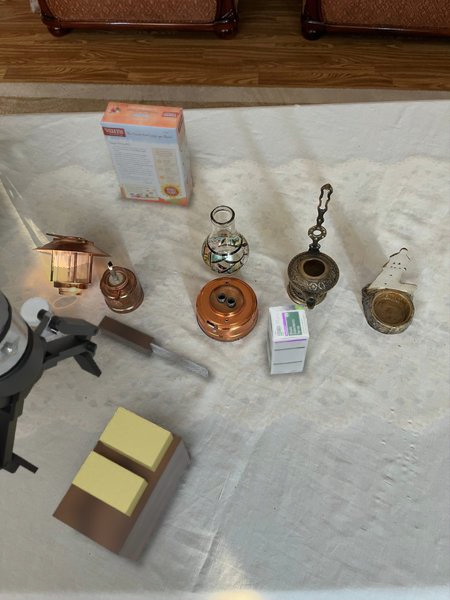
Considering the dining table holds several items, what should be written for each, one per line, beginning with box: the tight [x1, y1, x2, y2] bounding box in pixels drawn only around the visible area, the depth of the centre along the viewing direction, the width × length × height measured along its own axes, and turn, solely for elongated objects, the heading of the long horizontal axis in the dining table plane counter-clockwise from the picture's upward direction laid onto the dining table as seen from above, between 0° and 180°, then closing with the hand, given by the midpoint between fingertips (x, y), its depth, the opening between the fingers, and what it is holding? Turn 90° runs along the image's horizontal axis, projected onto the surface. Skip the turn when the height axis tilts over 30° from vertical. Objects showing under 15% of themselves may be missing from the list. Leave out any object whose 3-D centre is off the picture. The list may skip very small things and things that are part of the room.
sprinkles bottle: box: [20, 296, 68, 342], centre depth 88 cm, size 5×5×14 cm
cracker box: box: [100, 101, 194, 206], centre depth 102 cm, size 14×6×21 cm, turn 80°
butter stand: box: [51, 432, 192, 562], centre depth 75 cm, size 10×16×14 cm, turn 153°
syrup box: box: [266, 303, 310, 375], centre depth 85 cm, size 6×6×14 cm
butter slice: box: [71, 450, 148, 517], centre depth 67 cm, size 8×4×3 cm, turn 63°
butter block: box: [98, 405, 173, 472], centre depth 69 cm, size 8×5×3 cm, turn 63°
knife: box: [97, 314, 210, 379], centre depth 91 cm, size 21×2×4 cm, turn 63°
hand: (61, 416), depth 66 cm, fingers open, 13 cm apart
